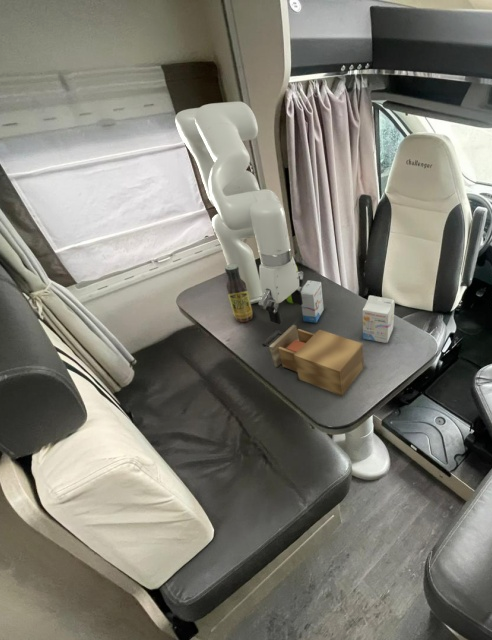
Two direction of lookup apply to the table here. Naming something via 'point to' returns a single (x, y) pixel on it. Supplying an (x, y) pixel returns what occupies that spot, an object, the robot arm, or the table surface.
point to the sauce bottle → (238, 294)
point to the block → (295, 345)
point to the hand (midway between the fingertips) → (287, 312)
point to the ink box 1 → (312, 301)
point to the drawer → (283, 342)
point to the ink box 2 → (378, 319)
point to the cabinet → (329, 361)
